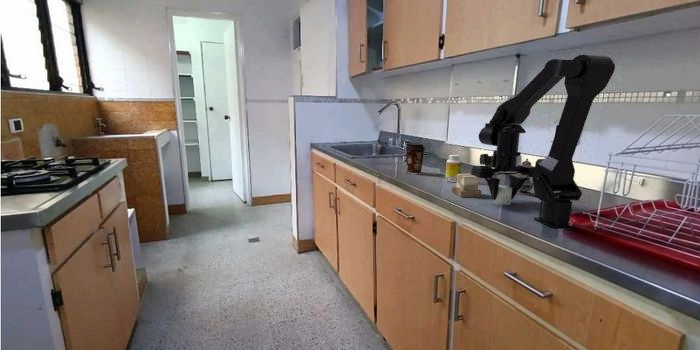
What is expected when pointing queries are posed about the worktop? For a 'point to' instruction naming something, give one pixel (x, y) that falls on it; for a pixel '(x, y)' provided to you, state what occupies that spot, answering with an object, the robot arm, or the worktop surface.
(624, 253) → the worktop surface
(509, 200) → the pale green rounded block
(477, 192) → the slab
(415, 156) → the coffee cup
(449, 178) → the supplement bottle
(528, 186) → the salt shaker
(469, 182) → the cube
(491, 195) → the robot arm
